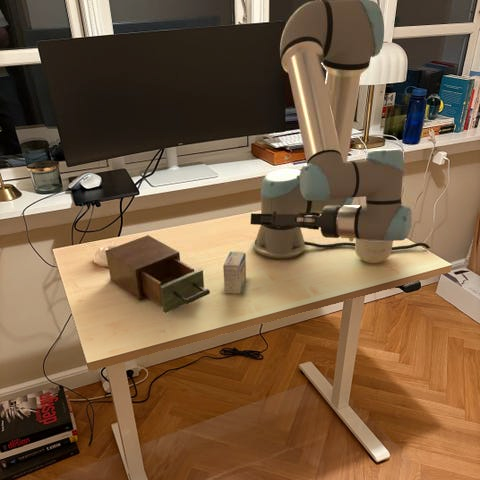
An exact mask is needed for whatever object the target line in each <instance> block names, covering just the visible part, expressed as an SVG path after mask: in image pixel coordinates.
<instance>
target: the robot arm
mask: <svg viewBox="0 0 480 480" xmlns="http://www.w3.org/2000/svg"><path fill="white" fill-rule="evenodd" d="M384 40H385V19H384V16H383V12H382V9H381V7H380V5H379V3H377V2H376V1H374V0H312V1H309V2H306V3H304V4H302V5H301V6H299V7H298V8H297V9H296V10H295V11H294V12H293V13H292V15H291V16H290V17H289V19H288V21H287V22H286V24H285V26H284V28H283V31H282V34H281V39H280V45H279V55H280V61H281V66H282V68H283V70H284V71H285V72H286V73H288V74H287V75H288V78H289V83H290V87H291V93H292V98H293V102H294V107H295V111H296V116H297V121H298V127H299V132H300V137H301V142H302V145H303V151H304V155H305V161H306V164H305V165H303V166H302V167H301V169H296V168H281V169H276V170H274V171H271V172H269V173H268V174H266V175H265V176H264V177H263V179H262V182H261V189H260V196H261V198H260V200H261V202H260V203H261V205H260V213H250V225H255V226H259V229H258V232H257V234H256V236H255V238H254V250H255V252H256V253H257V254H259V255H261V256H262V257H265V258H268V259H271V260H272V259H273V260H285V259H286V260H289V259H293V258H296V257H299V256H300V255H301V254H303V253H304V251H305V245H306V246H311V247H315V248H321V249H328V248H329V249H330V248H335V247H344V246H345V247H346V246H347V247H355V242H354V239H355V240H356V239H369V240H384V241H393V242H394V241H396V242H397V241H405V240H406V239H407V238H408V237H409V235H410V233H411V228H412V221H413V219H412V218H413V217H412V209H411V208H410V207H409V206H405V205H403V202H402V194H403V193H402V192H403V191H402V190H403V180H404V173H405V170H404V168H405V167H404V166H405V165H404V162H405V161H404V160H405V159H404V153H403V151H402V150H401V149H399V148H382V149H372V150H369V151H368V153H367V156H366V159H362V160H361V159H360V160H353V161H352V160H350V161H348V159H349V152H350V145H351V140H352V133H353V128H354V123H355V116H356V109H357V105H358V104H357V103H358V98H359V92H360V85H361V78H362V74H363V73H364V72H365V71H367V70H368V69H369V68H370V64H371V58H375V57H376V56H378V55H379V54H380V53H381V51H382V49H383V45H384ZM323 68H324V69H325V71H326V75H325V73H324V70H323ZM325 76H326V77H325ZM363 197H365V205H360V204H359V205H354V204H353V203H354V199H355V198H363ZM352 204H353V205H352ZM302 229H308V230H314V231H315V230H317V231H318V230H320V233H321V235H322V236H323V238H325V239H327V238H328V239H339V238H341V239H348V241H349V242H336V243H329V244H328V243H327V244H320V243H315V242H310V241H305V239H304V236H303V232H302ZM417 247H424V248H426V249H431V247H430V246H429V244H428V243H425V242H417V243H412V244H408V245H398V246H392V250H391V251H397V250H407V249H408V250H409V249H412V248H417Z"/></svg>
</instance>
